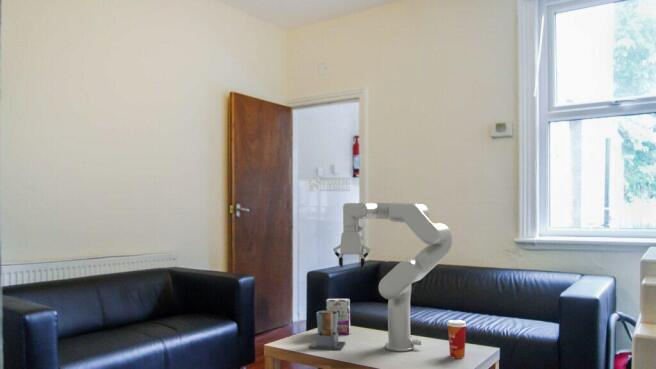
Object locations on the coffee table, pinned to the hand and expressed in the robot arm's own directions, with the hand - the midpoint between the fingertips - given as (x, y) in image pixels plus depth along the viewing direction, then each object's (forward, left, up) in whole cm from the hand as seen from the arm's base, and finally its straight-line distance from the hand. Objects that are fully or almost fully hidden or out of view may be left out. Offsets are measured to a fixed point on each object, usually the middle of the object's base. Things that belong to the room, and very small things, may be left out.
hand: (351, 266), depth 229 cm
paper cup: (-46, +16, -34) cm, 59 cm away
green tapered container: (+12, -1, -34) cm, 36 cm away
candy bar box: (+9, -11, -34) cm, 36 cm away
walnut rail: (+9, +12, -32) cm, 36 cm away
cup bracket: (+9, +12, -33) cm, 37 cm away
